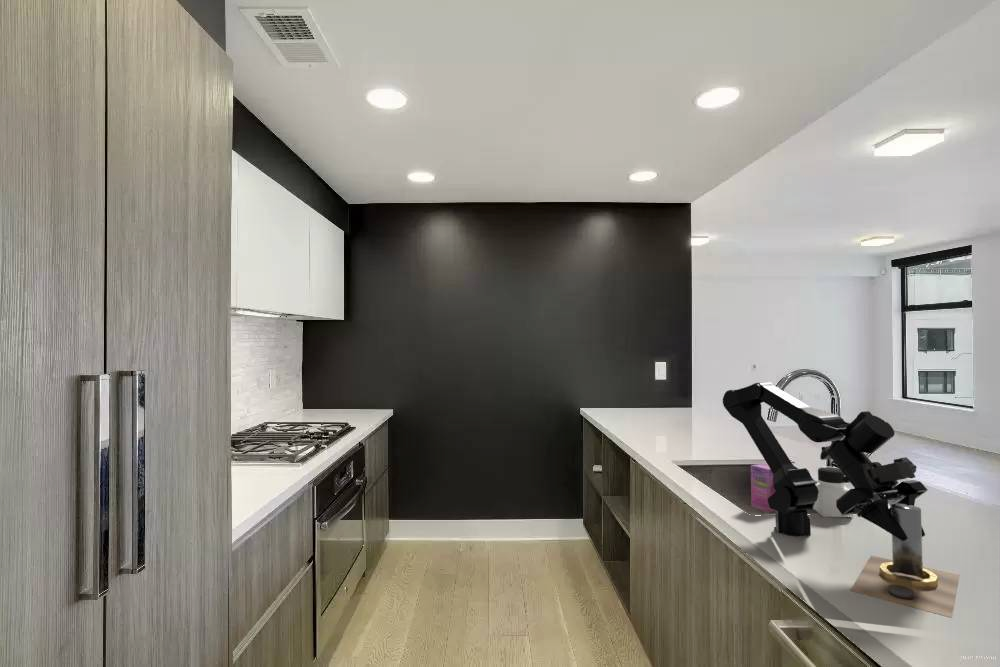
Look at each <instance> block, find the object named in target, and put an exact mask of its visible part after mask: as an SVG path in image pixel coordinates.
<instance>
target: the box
mask: <svg viewBox="0 0 1000 667" xmlns="http://www.w3.org/2000/svg"><path fill="white" fill-rule="evenodd" d="M750 489H751V490H750V493H751V495H750V496H751V498H750V499H751V501H750V502H751V508H753V509H756V510H759V511H763V512H766V513H772V512H775V510H774V509H771V508H770V507H769V504H768V500H767V499H768V498H769V497H770V496H771V495H772V494H773V493H775V492H776V491H775V489H774V486H773V473H772V471H771V469H770V467H769V466H768V464H767V463H766V462H761V463H756V464H750Z"/></svg>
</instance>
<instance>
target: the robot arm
mask: <svg viewBox="0 0 1000 667" xmlns="http://www.w3.org/2000/svg"><path fill="white" fill-rule="evenodd" d="M762 403H764V404H766V405H768V406H770V407H771V408H773V409H774V410H776V411H778V412H779V413H780V414H781V415H783V416H785V417H787V418H788V419H790V420H791V421H793V422H794V423H795V424H797V426H798V429H799V430H800V432H801V433H802V434H804V435H805V436H806V437H807V438H808V439H809V440H810V441H812V442H813V443H816V444H817V443H826V442H827V443H828V442H829V443H830V442H832V443H831V444H830V445H827V446H822V447H821V452H820V455H819V456H820V457H819V459H820V460H821V461H824V460H832V461H833V462H834V463H835V465H836V466H837V468H839V469H840V470H841V471H842V472H843V474H844V475H845V477H844V478H843V479H842V480H843V481H844V482H845V484H850V485H851V486H852V487H854V488H850V490H849V491H847V492H846V493H845V494H844V495H842V496H841V497H840V498H839V499H837V500H836V507H837V509H838V510H839V511H840V513H841V514H842V515H849V514H853V515H854V513H855V507H856V506H858V507H859V508H858V510H860V511H859V512H858V513H857V514H856V516H857V517H858V518H863V519H864V520H866V521H869V522H870V523H872V524H873V525H876V527H879V528H881V529H882V530H884V531H885V532H887V533H889V534H890V535H891V536H892V535H894V536H895V537H897V538H898V539H900V540H902V541H905V540H907V539H908V538H907V536H906V534H905V533H904V531H903V529H902V528H901V527H900V525H899V524H898V522H897V521H896V519H895V518H894V517H893V515H892V514H891V505H892V504H908V505H913V506H915V503H916V499H918V498H919V497H920V496H922V495H923V494H925V493H926V492H928V488H927V487H926V486H925V485H924V484H923V483H922V482H921V481H920V480H916V479H914V478H916V474H915V473H916V472H917V466H916V464H914V463H913V461H912V460H910V459H909V458H908V457H907V456H905V457H899V458H895V459H893V462H892V463H891V462H890V463H888V464H884V465H882V463H880V462H878V461H873V462H872V461H871V459H870V458H869V457H868V456H867V455H866V454H874V453H875V452H876V451H878V450H879V449H880V448H881V447H883V445H885V444H886V443H888V441H890V440H891V439H892V438H893V437H894V436H895V430H894V428H893V427H892V425H891V424H890V423H889V422H887V421H885V420H884V419H882V418H881V417H879V416H876V415H873V414H872V413H871V412H870V411H869V410H865V411H860V412H859V413H858V414H857V416H856V417H855V418H854V419H853V420H852V421H851V422H848V421H845V420H844V419H843V417H841V416H840V415H837V414H835V413H832V412H830V411H826V410H822V409H818V408H814V407H811V406H810V405H808V404H805V403H804V402H802V401H801V400H799V399H797V398H796V397H793V396H792V395H790V394H789V393H787V392H785V391H783V390H782V389H780V388H778V387H777V386H775V384H774V383H772V382H769V381H766V382H765V381H764V382H754V383H752V384H750V385H748V386H745V387H741V388H739V389H730V390H729V389H728V390H727V391H725V393H724V394H723V397H722V405H723V407H724V409H725V410H726V411H727V413H728V414H729V415H730V416H731V417H732V418H734V419H735V420H736V421H738V422H740V423H741V424H742V425H743V427H744V428H745V429H746V431H747V433H748V435H749V437H750V438H751V439H752V442H753V443H754V444H755V446H756V448H757V449H758V451H759V453H760V454H761V456H762V458H763V459H764V461H765V463H767V464H768V466H769V467H770V469H771V471H772V473H773V486H774V489H775V491H776V492H775V493H773V494H772V495H771V496H770V497H769V498H768V499H767V500H768V504H769V507H770V508H771V509H774V510H775V511H774V512H775V526H774V527H773V530H774V531H775V533H776V534H777V533H778V534H781V535H786V536H791V537H803V536H806V537H807V536H811V535H812V534H811V531H812V530H811V529H812V528H811V527H812V526H811V517H809V515H808V510H814V509H813V507H814V504H815V502H816V501H817V498H818V493H819V491H818V488H817V486H816V485H815V484H817V483H818V482H817V481H815V479H814V478H813V477H812V475H811V474H810V471H809V470H808V468H806V467H802V468H798V467H797V466H795V465H794V464H793V463H792V461H791V459H790V458H789V456H788V455H787V453H786V452H785V450H784V449H783V447H782V445H781V443H780V442H779V440H778V439H777V438H776V436H775V435H774V433H773V431H772V430H771V429H770V426H769V425H768V424H767V422H766V421H765V419H764V418H763V415H762ZM905 479H910V480H905ZM911 479H912V480H911ZM900 480H905V481H901V482H900V483H899V481H900ZM889 506H890V508H889ZM925 536H926V533H925V530H924V528H923V527H922V538H923V537H925Z"/></svg>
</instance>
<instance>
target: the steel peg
mask: <svg viewBox="0 0 1000 667" xmlns="http://www.w3.org/2000/svg"><path fill="white" fill-rule="evenodd" d="M890 508H891V514H892V515H893V517H894V518H895V519H896V521H897V522H898V524H899V525H900V527H901V528H902V529H903V531H904V533H905V534H906V536H907V538H908V539H907V540H905V541H902V540H900V539H898V538H897V537H895V536H894V535H892V534H891V544H892V546H891V548H892V560H893V569H894V570H895V571H897V572H900V573H903V574H906V575H912V576H920V575H922V574H923V567H924V566H923V564H924V563H923V537H922V528H923V526H922V509H921V508H920V507H918V506H916V505H914V506H913V505H908V504H892V505H891V506H890Z"/></svg>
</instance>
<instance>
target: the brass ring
mask: <svg viewBox="0 0 1000 667" xmlns="http://www.w3.org/2000/svg"><path fill="white" fill-rule="evenodd" d="M879 569H880V574H881V575H882V576H883V577H884V578H885V579H888V580H890V581H892V582H894V583H896V584H900V585H904V586H908V587H912V588H922V589H929V588H935V587H936V586H937V584H938V577H937V576H936V575H935V574H934V573H933V572H931V571H929V570H926V569H924V568H923V574H922V575H920V576H923V577H925V578H927V579H923V580H920V579H910V578H906V577H902V576H898V575H896V574H894V573H892V572H890V571H894V569H893V562H888V563H882V564H881V565H880V567H879Z"/></svg>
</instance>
